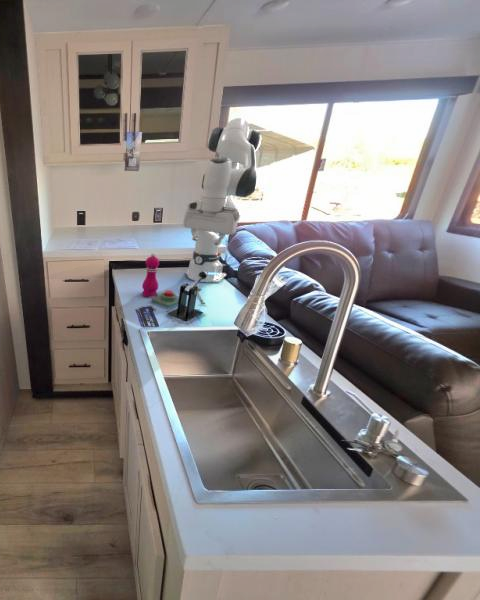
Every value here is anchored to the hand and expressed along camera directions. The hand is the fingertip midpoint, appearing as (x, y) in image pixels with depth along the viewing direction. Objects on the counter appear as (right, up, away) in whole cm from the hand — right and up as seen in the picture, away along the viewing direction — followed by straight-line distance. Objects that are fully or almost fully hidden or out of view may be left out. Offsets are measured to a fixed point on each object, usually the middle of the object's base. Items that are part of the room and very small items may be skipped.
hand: (205, 242), depth 122 cm
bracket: (-6, -29, +6) cm, 30 cm away
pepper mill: (-16, -20, +26) cm, 36 cm away
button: (-10, -20, +16) cm, 28 cm away
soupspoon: (+6, -21, +24) cm, 32 cm away
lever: (-2, -17, +4) cm, 17 cm away
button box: (-10, -24, +17) cm, 31 cm away
